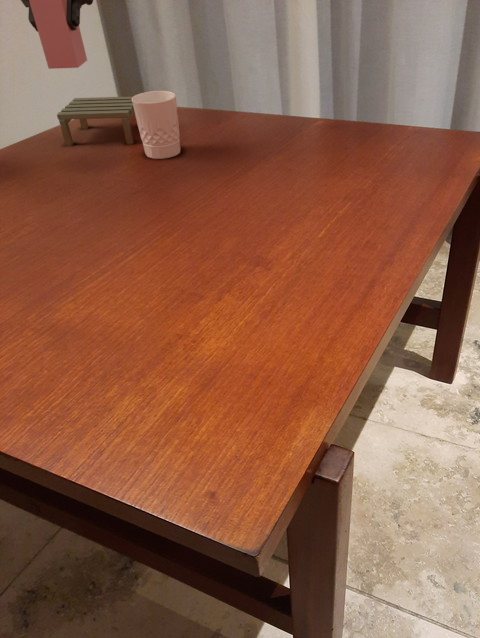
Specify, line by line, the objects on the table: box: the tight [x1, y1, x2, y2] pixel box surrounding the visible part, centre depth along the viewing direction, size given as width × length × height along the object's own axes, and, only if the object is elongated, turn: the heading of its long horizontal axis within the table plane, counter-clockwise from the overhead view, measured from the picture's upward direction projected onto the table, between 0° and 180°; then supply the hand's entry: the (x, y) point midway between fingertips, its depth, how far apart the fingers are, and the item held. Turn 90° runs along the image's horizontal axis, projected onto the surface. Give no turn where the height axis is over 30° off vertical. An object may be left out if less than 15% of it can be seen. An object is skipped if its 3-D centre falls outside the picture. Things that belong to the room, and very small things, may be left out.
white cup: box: [132, 90, 182, 160], centre depth 103 cm, size 8×8×10 cm
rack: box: [56, 95, 135, 147], centre depth 113 cm, size 14×12×6 cm
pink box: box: [29, 0, 88, 70], centre depth 89 cm, size 5×5×10 cm
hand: (54, 27), depth 87 cm, fingers closed on pink box, 5 cm apart
